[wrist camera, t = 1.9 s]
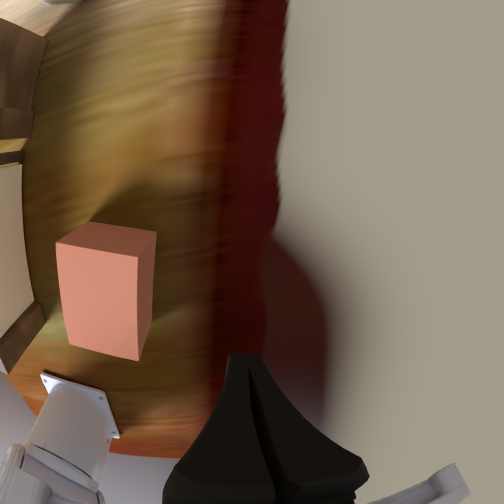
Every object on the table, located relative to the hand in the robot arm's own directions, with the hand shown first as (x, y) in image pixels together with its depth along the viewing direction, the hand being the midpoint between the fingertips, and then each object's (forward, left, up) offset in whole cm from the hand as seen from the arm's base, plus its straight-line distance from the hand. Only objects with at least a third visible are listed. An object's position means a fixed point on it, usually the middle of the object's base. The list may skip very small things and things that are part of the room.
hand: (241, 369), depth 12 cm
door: (+2, +17, -7) cm, 19 cm away
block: (0, +8, -8) cm, 11 cm away
